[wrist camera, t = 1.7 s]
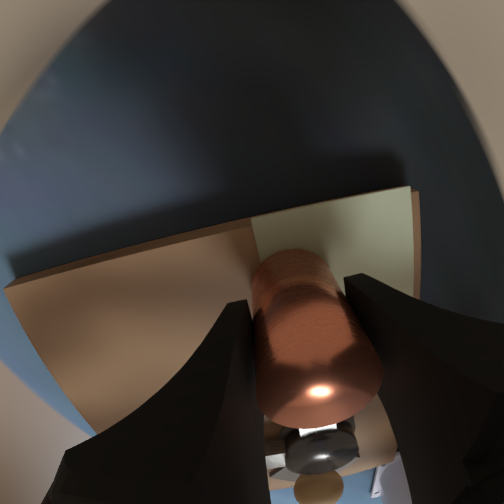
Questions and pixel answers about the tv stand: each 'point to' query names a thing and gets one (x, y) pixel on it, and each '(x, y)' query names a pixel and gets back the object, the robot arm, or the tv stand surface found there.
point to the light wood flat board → (210, 309)
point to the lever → (309, 362)
